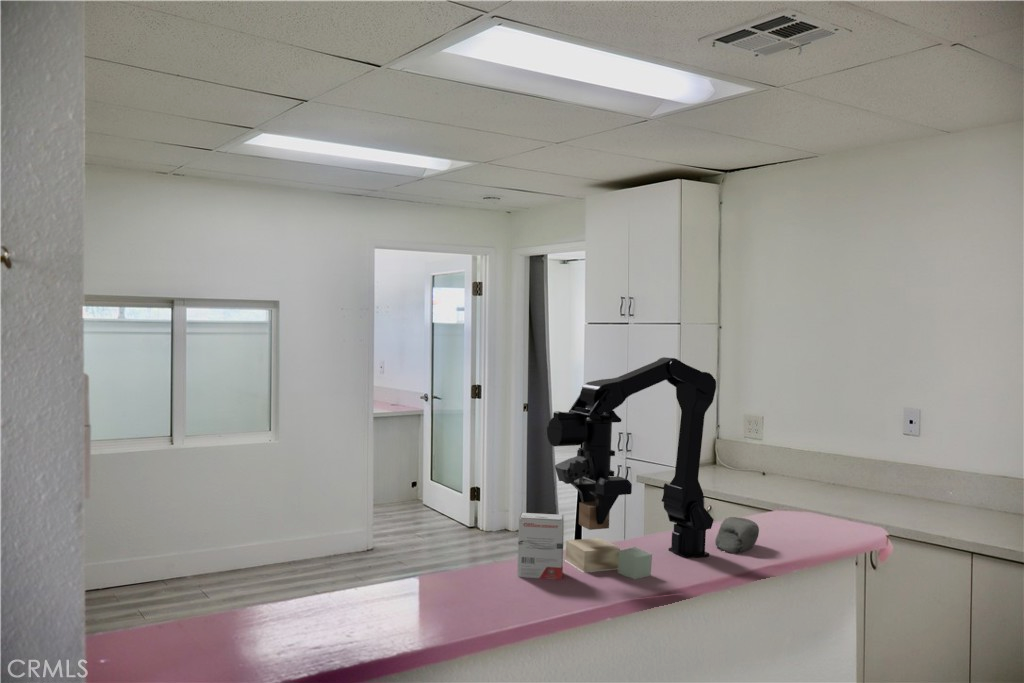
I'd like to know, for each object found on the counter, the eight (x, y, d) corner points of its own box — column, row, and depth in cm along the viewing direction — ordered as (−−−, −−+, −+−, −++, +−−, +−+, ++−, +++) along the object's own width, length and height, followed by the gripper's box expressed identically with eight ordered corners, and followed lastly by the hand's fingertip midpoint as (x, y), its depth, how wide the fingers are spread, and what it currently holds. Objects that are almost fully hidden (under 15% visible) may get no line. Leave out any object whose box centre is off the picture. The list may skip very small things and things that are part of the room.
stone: (702, 545, 177) (718, 504, 179) (724, 558, 181) (739, 518, 184) (735, 556, 169) (750, 513, 172) (757, 569, 174) (772, 527, 176)
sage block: (633, 569, 156) (635, 547, 156) (650, 576, 152) (652, 554, 152) (617, 572, 153) (619, 550, 153) (634, 580, 150) (636, 557, 149)
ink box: (562, 573, 152) (565, 513, 152) (561, 581, 147) (564, 519, 147) (518, 570, 153) (521, 511, 153) (516, 578, 148) (518, 516, 148)
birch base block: (599, 556, 163) (600, 537, 163) (619, 568, 156) (620, 548, 156) (565, 559, 160) (566, 540, 160) (583, 571, 153) (584, 551, 153)
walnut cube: (598, 522, 161) (598, 501, 161) (608, 528, 157) (609, 506, 157) (578, 524, 159) (579, 502, 159) (589, 529, 155) (590, 507, 155)
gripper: (541, 438, 163) (538, 513, 163) (583, 453, 146) (580, 536, 146) (588, 437, 168) (585, 509, 168) (634, 451, 150) (631, 532, 151)
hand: (594, 521), depth 158 cm, fingers closed on walnut cube, 4 cm apart
